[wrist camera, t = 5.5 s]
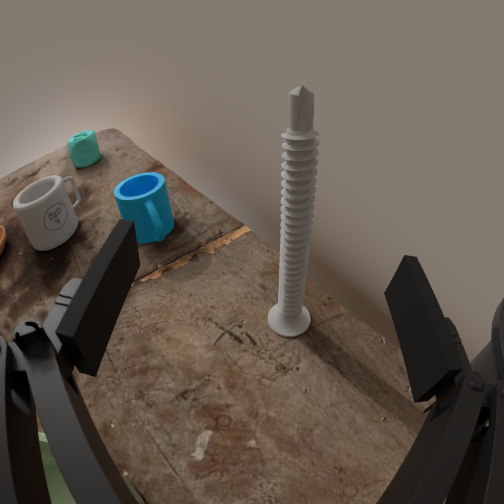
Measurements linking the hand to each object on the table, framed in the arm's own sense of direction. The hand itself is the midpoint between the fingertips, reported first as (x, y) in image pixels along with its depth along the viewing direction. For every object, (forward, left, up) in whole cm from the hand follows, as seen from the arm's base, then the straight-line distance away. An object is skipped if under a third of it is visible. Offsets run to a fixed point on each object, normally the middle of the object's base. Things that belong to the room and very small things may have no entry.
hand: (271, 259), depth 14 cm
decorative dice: (+77, -5, -20) cm, 80 cm away
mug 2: (+32, -5, -20) cm, 38 cm away
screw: (+6, -9, -20) cm, 23 cm away
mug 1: (+48, +9, -20) cm, 53 cm away
